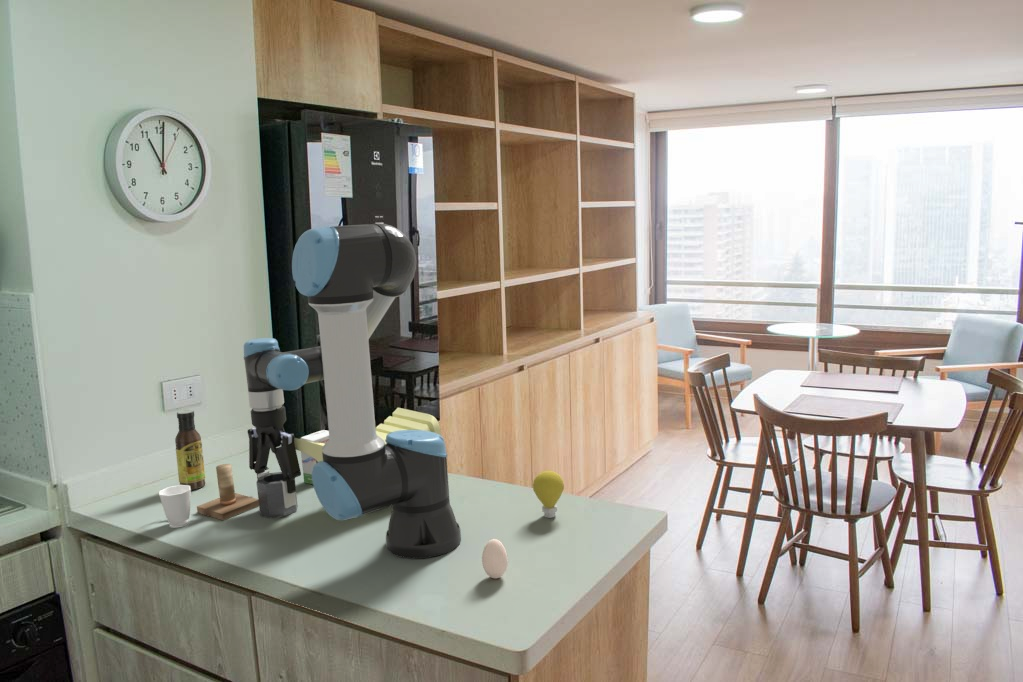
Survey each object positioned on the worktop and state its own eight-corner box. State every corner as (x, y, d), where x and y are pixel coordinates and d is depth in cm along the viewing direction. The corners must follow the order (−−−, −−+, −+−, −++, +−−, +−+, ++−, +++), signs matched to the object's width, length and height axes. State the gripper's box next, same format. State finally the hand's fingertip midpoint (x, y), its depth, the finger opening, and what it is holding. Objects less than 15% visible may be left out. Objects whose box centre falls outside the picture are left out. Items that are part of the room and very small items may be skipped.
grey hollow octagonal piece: (304, 508, 185) (300, 475, 184) (276, 520, 179) (272, 486, 178) (282, 502, 190) (278, 470, 189) (253, 513, 184) (249, 480, 182)
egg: (478, 580, 145) (475, 542, 144) (492, 569, 149) (489, 532, 148) (499, 585, 143) (497, 546, 141) (513, 574, 147) (511, 536, 145)
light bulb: (571, 514, 173) (569, 470, 171) (551, 524, 168) (549, 478, 167) (548, 507, 178) (545, 464, 176) (528, 517, 173) (525, 472, 171)
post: (260, 505, 189) (255, 463, 187) (223, 520, 181) (217, 476, 179) (234, 498, 194) (229, 457, 193) (197, 512, 186) (191, 469, 185)
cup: (170, 532, 175) (166, 498, 174) (151, 522, 182) (146, 488, 181) (201, 522, 180) (197, 488, 179) (181, 512, 187) (177, 479, 186)
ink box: (316, 485, 200) (312, 440, 198) (303, 482, 203) (298, 438, 201) (341, 475, 207) (337, 431, 205) (327, 472, 210) (323, 429, 208)
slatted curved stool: (341, 528, 173) (333, 449, 169) (301, 511, 183) (293, 437, 180) (445, 487, 194) (439, 416, 191) (403, 474, 205) (397, 407, 202)
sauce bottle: (190, 493, 200) (180, 416, 197) (175, 489, 203) (164, 413, 200) (212, 484, 205) (202, 409, 202) (196, 481, 209) (186, 407, 205)
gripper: (311, 407, 177) (321, 505, 181) (252, 398, 189) (263, 489, 193) (284, 416, 171) (294, 516, 175) (225, 406, 183) (236, 500, 187)
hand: (278, 502), depth 184 cm, fingers closed on grey hollow octagonal piece, 8 cm apart
